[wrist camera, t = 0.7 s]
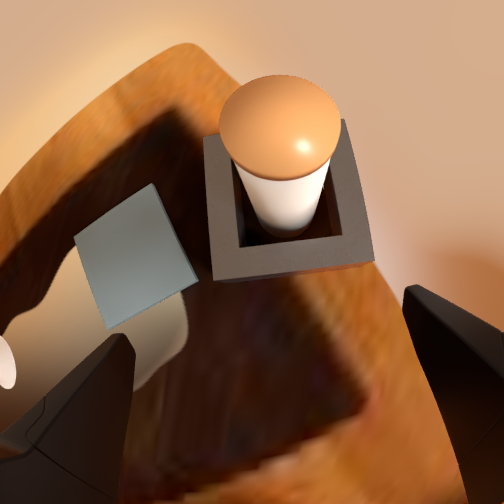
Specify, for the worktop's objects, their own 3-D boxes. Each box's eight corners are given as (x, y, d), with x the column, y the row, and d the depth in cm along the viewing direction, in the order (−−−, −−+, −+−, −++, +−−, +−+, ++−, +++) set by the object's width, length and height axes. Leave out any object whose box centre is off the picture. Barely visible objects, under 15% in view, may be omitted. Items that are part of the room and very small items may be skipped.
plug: (306, 246, 22) (326, 189, 10) (247, 229, 23) (201, 157, 11) (322, 190, 23) (349, 89, 10) (265, 174, 23) (241, 67, 11)
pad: (198, 280, 23) (196, 280, 22) (111, 329, 23) (107, 329, 23) (154, 185, 25) (151, 183, 24) (77, 238, 25) (73, 237, 24)
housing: (360, 266, 22) (374, 260, 18) (226, 283, 23) (213, 280, 19) (337, 144, 23) (344, 118, 19) (215, 159, 24) (203, 136, 20)
